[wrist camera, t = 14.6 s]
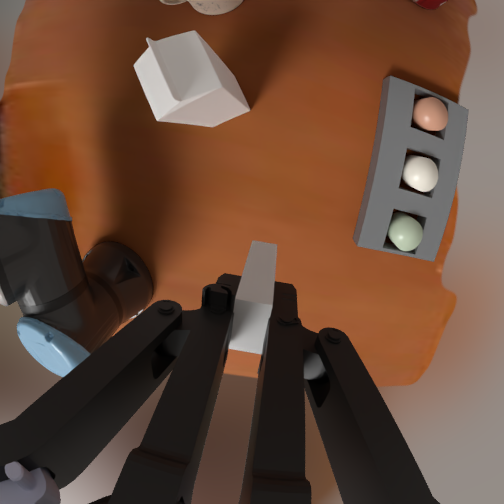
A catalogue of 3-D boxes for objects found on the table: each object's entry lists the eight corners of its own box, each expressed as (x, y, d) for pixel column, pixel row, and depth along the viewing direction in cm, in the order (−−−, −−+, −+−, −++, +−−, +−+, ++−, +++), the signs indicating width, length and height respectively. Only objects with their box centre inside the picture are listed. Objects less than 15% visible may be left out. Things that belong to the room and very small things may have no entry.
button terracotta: (432, 134, 33) (445, 135, 29) (406, 124, 33) (418, 124, 29) (436, 106, 31) (449, 104, 27) (410, 95, 31) (422, 92, 28)
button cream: (422, 189, 36) (434, 195, 33) (396, 182, 37) (406, 186, 33) (428, 160, 35) (441, 163, 31) (402, 151, 35) (413, 153, 31)
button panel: (426, 254, 41) (433, 261, 38) (352, 238, 41) (357, 246, 38) (458, 110, 31) (468, 109, 28) (383, 79, 31) (390, 75, 28)
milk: (234, 75, 34) (183, 13, 14) (251, 111, 36) (215, 77, 15) (195, 93, 35) (112, 57, 15) (212, 128, 37) (138, 120, 17)
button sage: (407, 243, 40) (416, 253, 36) (381, 238, 40) (390, 248, 37) (415, 215, 38) (426, 223, 34) (389, 208, 38) (399, 216, 35)
